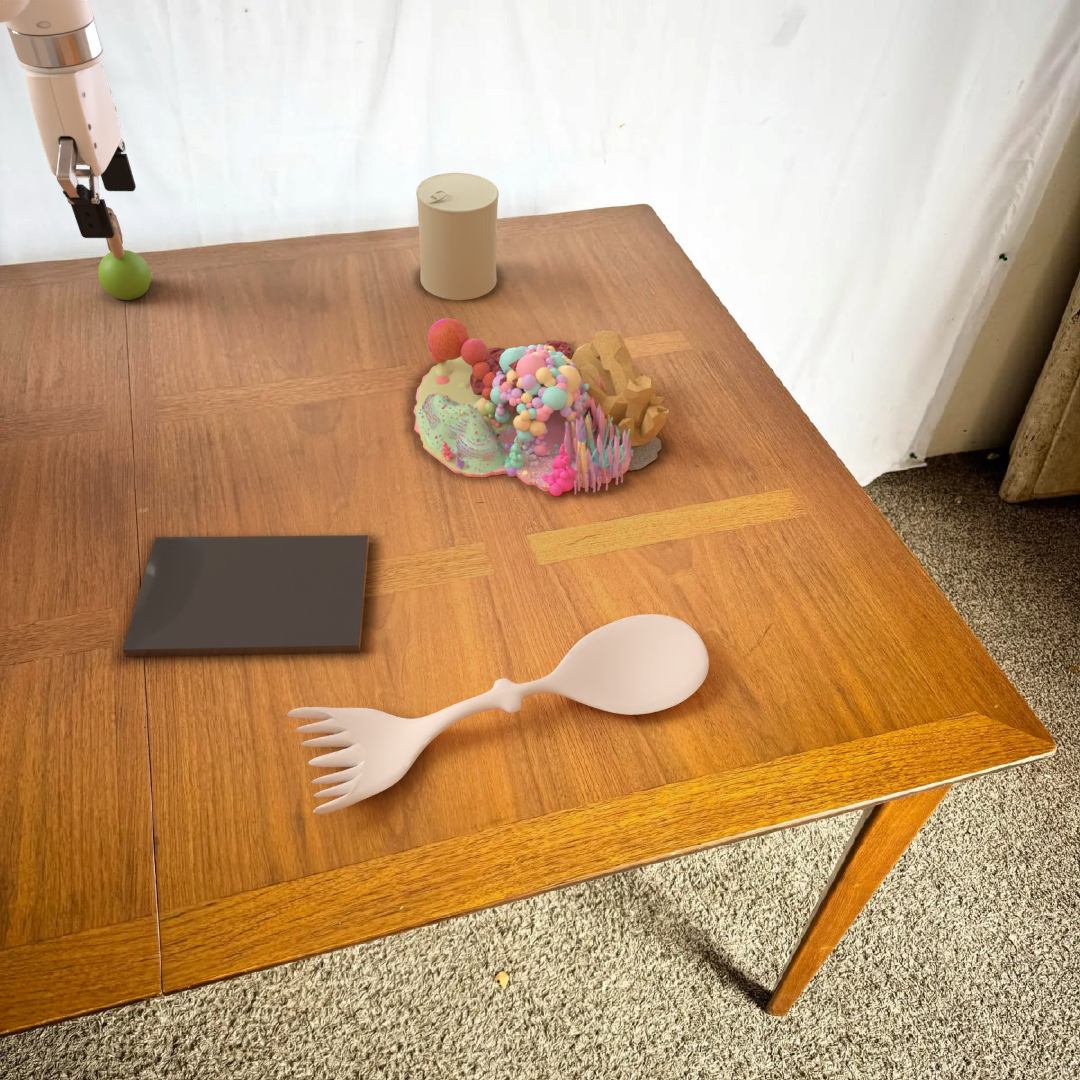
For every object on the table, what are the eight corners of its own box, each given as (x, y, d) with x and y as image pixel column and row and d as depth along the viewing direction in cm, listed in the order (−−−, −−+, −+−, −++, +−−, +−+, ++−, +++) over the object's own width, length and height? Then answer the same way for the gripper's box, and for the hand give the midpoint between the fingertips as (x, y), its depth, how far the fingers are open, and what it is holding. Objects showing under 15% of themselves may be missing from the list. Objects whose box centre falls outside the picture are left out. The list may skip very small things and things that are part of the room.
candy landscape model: (612, 339, 108) (621, 266, 101) (698, 477, 93) (715, 402, 86) (393, 372, 102) (387, 296, 95) (446, 525, 87) (444, 448, 80)
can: (404, 279, 115) (398, 183, 106) (463, 254, 119) (463, 160, 111) (453, 313, 110) (451, 215, 102) (513, 286, 115) (516, 191, 106)
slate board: (127, 661, 75) (122, 649, 74) (159, 548, 83) (155, 536, 82) (360, 656, 76) (358, 645, 75) (369, 546, 85) (368, 534, 84)
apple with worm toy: (110, 318, 106) (78, 217, 98) (102, 288, 110) (71, 188, 101) (161, 309, 108) (134, 208, 99) (152, 279, 112) (125, 181, 103)
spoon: (290, 731, 71) (284, 704, 69) (670, 615, 81) (676, 588, 78) (319, 837, 66) (313, 812, 63) (724, 699, 75) (732, 673, 73)
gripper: (42, 7, 95) (94, 173, 107) (-16, 79, 83) (50, 256, 96) (120, 9, 95) (163, 174, 108) (74, 80, 84) (128, 256, 96)
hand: (110, 212), depth 102 cm, fingers open, 9 cm apart
